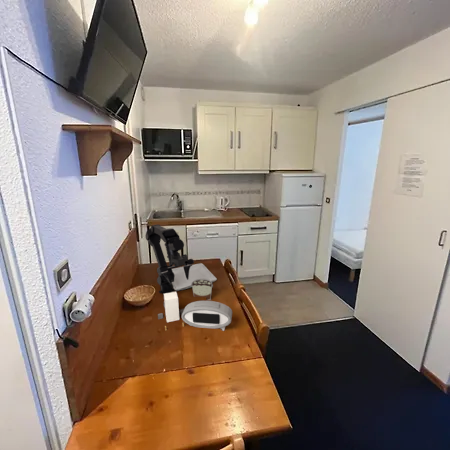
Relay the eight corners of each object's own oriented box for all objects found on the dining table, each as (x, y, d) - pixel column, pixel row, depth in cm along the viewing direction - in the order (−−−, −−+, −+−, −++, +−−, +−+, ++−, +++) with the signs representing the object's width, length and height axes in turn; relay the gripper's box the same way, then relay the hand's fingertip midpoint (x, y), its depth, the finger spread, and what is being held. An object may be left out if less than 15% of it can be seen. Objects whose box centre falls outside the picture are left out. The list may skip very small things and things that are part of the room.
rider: (165, 316, 126) (163, 293, 122) (177, 314, 128) (176, 291, 124) (167, 324, 120) (165, 300, 117) (179, 321, 122) (178, 297, 119)
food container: (214, 294, 147) (214, 278, 144) (213, 300, 141) (212, 284, 138) (194, 293, 148) (193, 277, 145) (191, 298, 142) (190, 283, 139)
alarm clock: (181, 329, 118) (180, 305, 114) (185, 320, 124) (184, 297, 120) (231, 332, 115) (231, 308, 112) (232, 323, 121) (232, 300, 118)
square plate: (164, 275, 171) (164, 270, 170) (202, 267, 182) (202, 262, 181) (175, 294, 147) (174, 288, 146) (217, 284, 159) (217, 278, 158)
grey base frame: (156, 305, 136) (156, 300, 135) (181, 301, 140) (180, 296, 139) (160, 337, 112) (160, 332, 111) (190, 331, 116) (190, 325, 115)
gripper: (160, 255, 119) (167, 287, 118) (195, 246, 130) (202, 276, 128) (153, 257, 128) (160, 287, 127) (186, 249, 139) (193, 277, 138)
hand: (179, 282), depth 130 cm, fingers open, 9 cm apart
